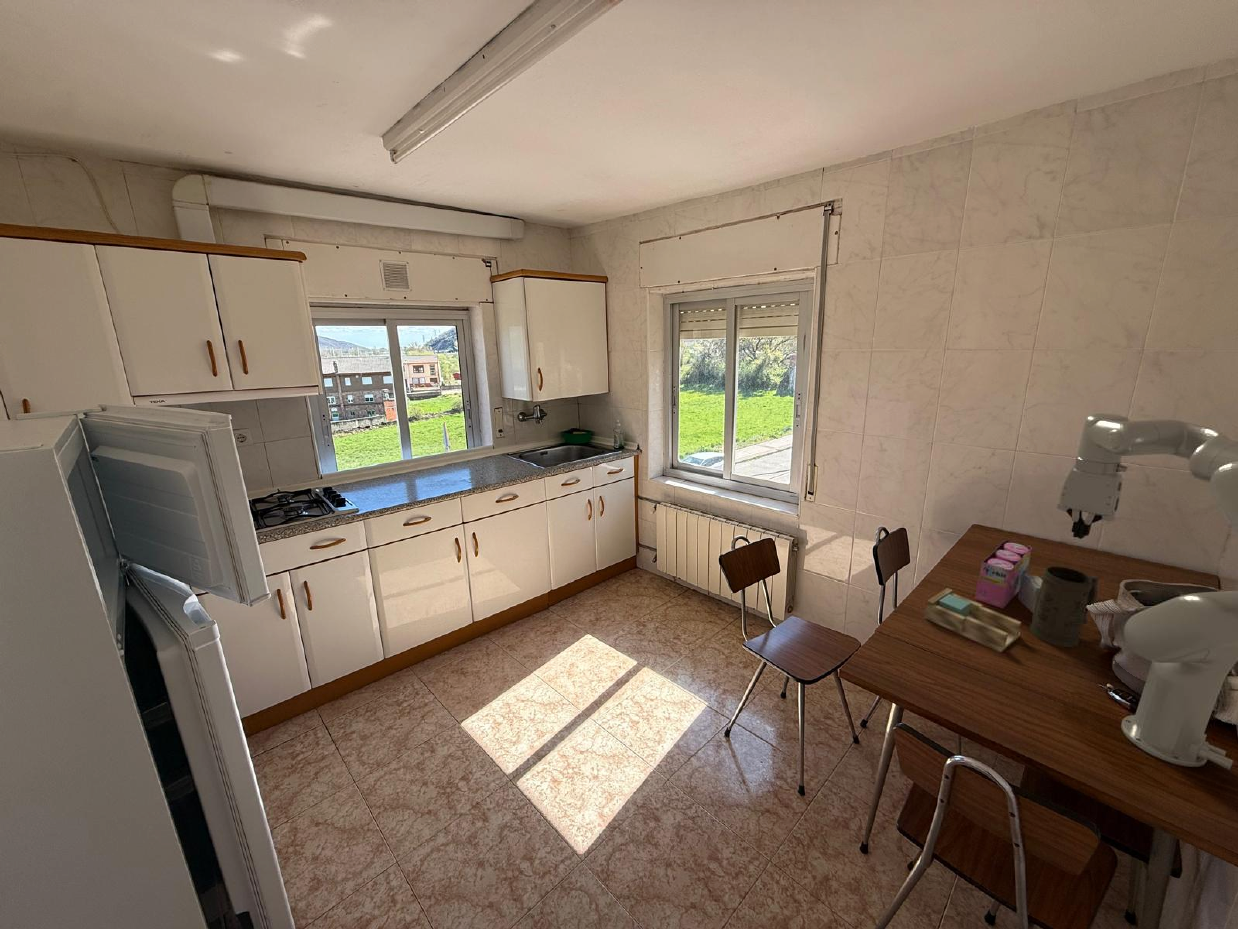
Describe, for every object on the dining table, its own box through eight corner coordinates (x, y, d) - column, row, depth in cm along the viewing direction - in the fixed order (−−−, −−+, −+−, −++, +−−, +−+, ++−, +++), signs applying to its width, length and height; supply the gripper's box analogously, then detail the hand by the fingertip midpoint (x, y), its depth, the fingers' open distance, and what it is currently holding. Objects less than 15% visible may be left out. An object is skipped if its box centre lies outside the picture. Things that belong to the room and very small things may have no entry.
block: (968, 616, 149) (970, 602, 148) (958, 623, 146) (960, 609, 145) (946, 607, 154) (949, 594, 153) (936, 614, 151) (939, 600, 150)
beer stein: (1058, 651, 134) (1078, 585, 129) (1018, 628, 144) (1035, 566, 139) (1098, 642, 138) (1119, 578, 133) (1056, 621, 148) (1074, 560, 143)
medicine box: (1047, 613, 150) (1053, 588, 148) (1031, 612, 151) (1036, 587, 149) (1032, 599, 158) (1038, 575, 155) (1016, 598, 159) (1021, 574, 156)
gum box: (999, 573, 174) (1006, 538, 170) (1027, 582, 168) (1035, 545, 164) (974, 599, 160) (981, 561, 156) (1003, 609, 154) (1011, 570, 150)
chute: (1019, 636, 141) (1023, 618, 140) (1000, 652, 135) (1004, 633, 133) (944, 604, 158) (947, 587, 156) (924, 617, 151) (927, 600, 150)
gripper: (1145, 470, 113) (1125, 542, 119) (1062, 456, 126) (1047, 523, 131) (1134, 477, 110) (1114, 551, 115) (1050, 462, 122) (1036, 530, 127)
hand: (1079, 536), depth 123 cm, fingers closed
